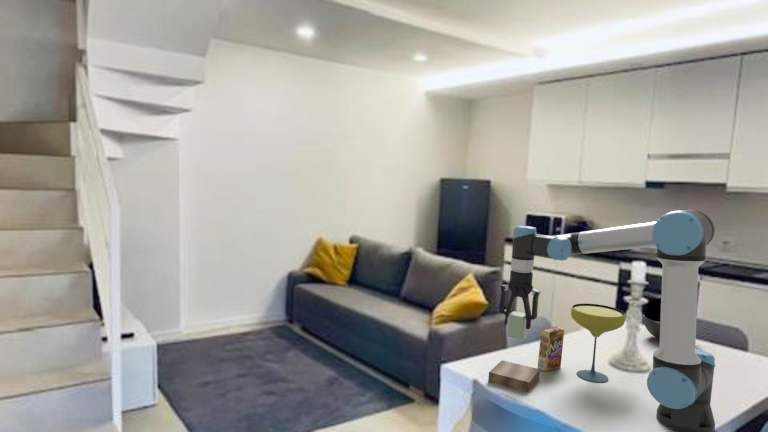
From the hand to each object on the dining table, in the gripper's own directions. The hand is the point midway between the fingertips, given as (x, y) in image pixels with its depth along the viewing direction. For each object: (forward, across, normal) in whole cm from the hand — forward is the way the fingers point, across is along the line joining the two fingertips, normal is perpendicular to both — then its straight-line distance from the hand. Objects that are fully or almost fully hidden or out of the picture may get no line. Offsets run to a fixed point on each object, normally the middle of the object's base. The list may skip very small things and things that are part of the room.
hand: (516, 335), depth 176 cm
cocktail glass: (+16, -22, -22) cm, 35 cm away
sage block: (0, 0, 0) cm, 0 cm away
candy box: (+16, -7, -20) cm, 27 cm away
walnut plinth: (+17, 0, 0) cm, 17 cm away
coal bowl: (+16, -41, -89) cm, 99 cm away
